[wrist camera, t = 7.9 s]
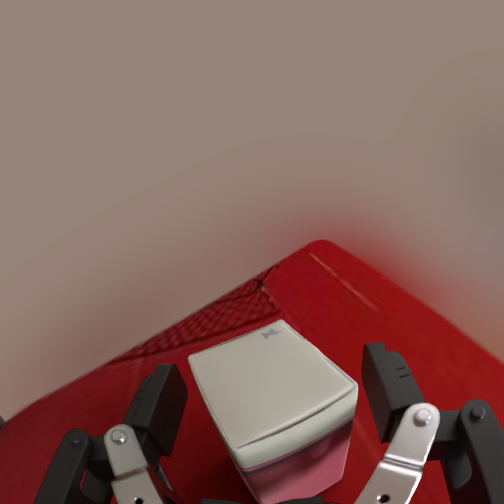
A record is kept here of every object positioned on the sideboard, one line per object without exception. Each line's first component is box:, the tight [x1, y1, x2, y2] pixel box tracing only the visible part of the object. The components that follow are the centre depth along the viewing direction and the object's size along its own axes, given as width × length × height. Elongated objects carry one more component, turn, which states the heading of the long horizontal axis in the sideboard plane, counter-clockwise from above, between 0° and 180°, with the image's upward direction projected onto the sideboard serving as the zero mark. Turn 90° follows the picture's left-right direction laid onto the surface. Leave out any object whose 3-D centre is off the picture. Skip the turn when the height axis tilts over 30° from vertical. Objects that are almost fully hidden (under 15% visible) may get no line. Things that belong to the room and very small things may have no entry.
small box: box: [188, 320, 358, 504], centre depth 10 cm, size 5×4×8 cm
